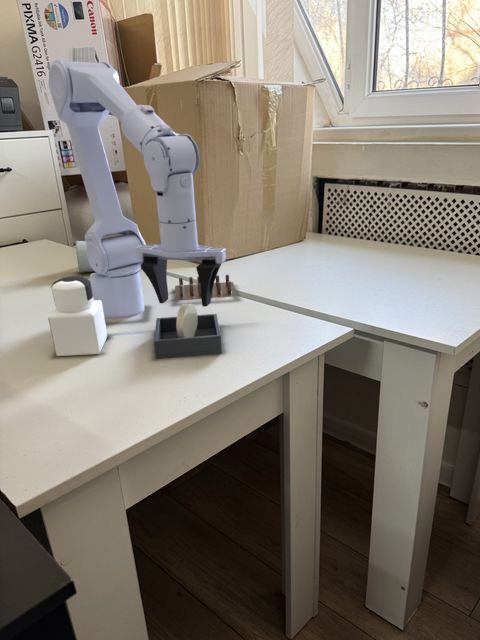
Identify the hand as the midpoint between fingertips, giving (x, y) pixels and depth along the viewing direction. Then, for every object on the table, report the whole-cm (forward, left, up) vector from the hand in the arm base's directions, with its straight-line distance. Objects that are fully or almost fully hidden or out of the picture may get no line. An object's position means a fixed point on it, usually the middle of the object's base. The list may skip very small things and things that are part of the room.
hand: (185, 302), depth 84 cm
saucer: (0, 0, -7) cm, 7 cm away
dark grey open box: (0, 0, -7) cm, 7 cm away
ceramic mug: (-23, +51, -4) cm, 56 cm away
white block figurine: (-18, +2, -8) cm, 20 cm away
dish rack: (+4, +25, -7) cm, 26 cm away
